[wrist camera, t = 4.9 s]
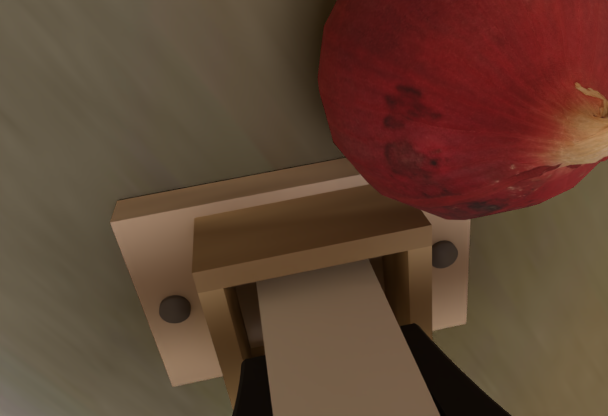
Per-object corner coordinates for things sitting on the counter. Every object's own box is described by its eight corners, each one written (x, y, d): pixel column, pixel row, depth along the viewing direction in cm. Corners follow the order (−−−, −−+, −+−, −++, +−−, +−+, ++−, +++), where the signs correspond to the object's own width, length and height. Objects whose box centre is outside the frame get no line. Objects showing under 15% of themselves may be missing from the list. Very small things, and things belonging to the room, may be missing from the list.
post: (368, 323, 16) (489, 637, 9) (271, 343, 16) (319, 681, 9) (361, 243, 14) (501, 547, 7) (253, 264, 14) (296, 598, 7)
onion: (434, 166, 16) (609, 359, 9) (259, 95, 14) (310, 273, 7) (549, -25, 14) (904, 36, 7) (359, -139, 12) (581, -223, 5)
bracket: (451, 300, 19) (501, 380, 15) (174, 359, 18) (167, 456, 15) (455, 136, 15) (519, 194, 12) (117, 200, 15) (91, 280, 11)
